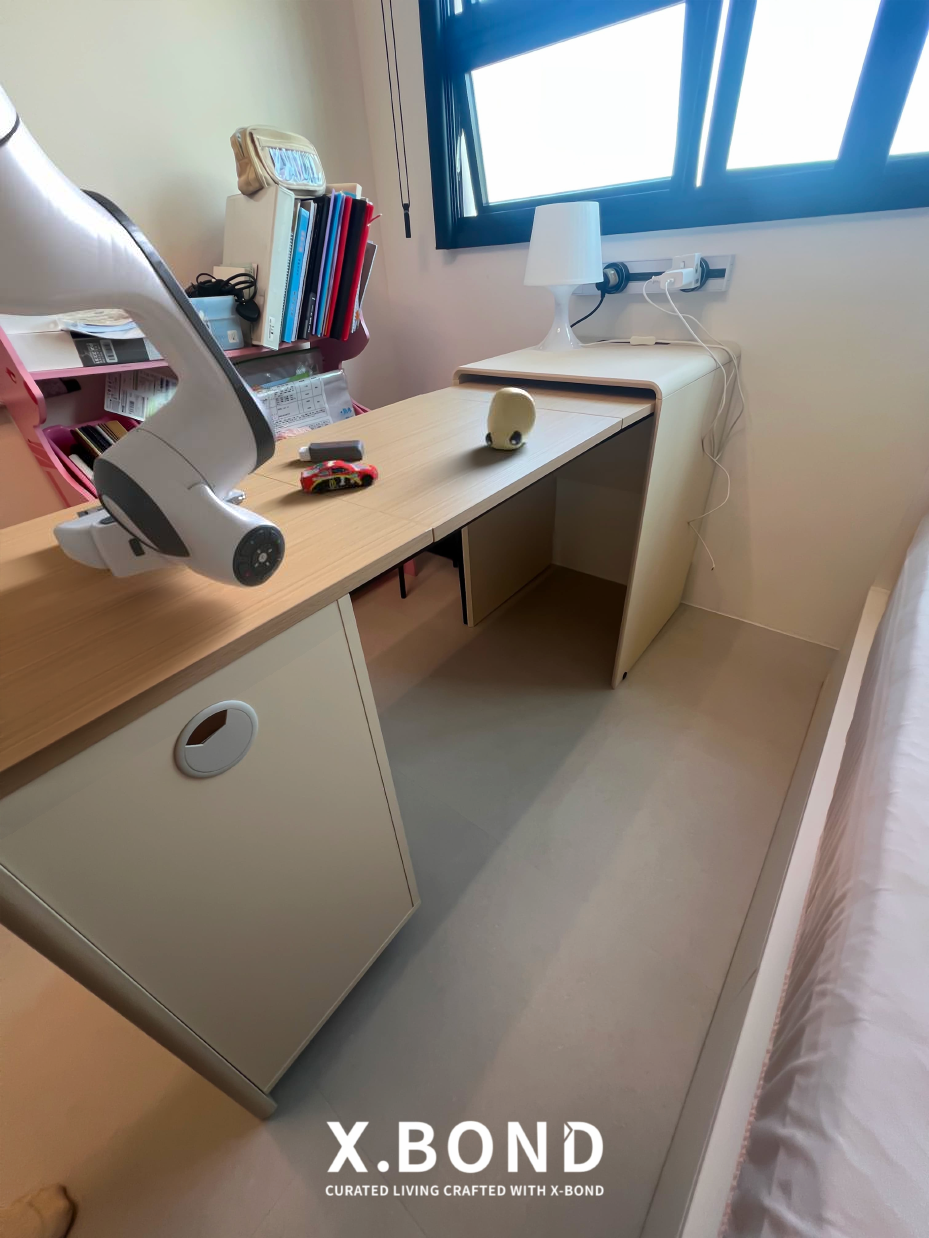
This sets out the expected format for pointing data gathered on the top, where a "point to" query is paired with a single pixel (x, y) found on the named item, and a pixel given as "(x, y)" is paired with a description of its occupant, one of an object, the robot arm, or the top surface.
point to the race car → (337, 476)
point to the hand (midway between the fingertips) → (122, 503)
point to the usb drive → (332, 451)
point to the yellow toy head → (510, 419)
